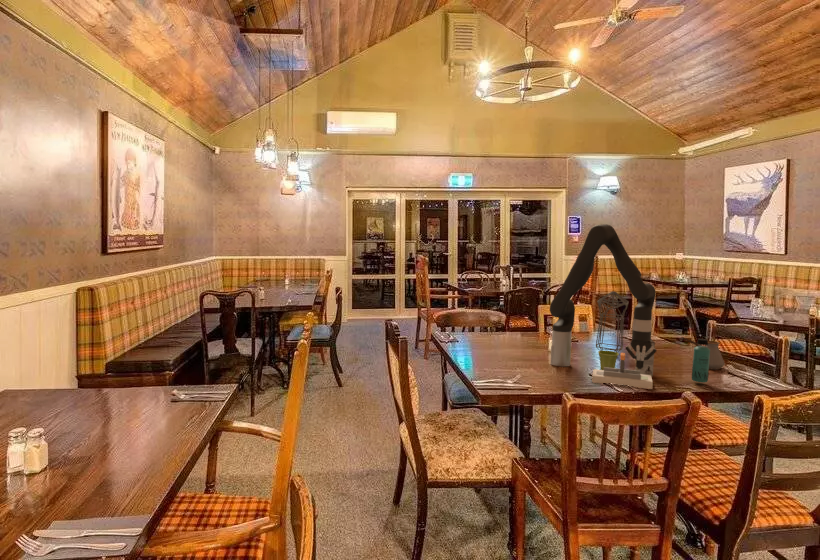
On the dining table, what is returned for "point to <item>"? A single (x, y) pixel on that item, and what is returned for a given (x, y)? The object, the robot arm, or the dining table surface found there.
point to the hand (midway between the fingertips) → (639, 368)
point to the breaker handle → (622, 363)
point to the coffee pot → (712, 354)
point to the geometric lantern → (612, 317)
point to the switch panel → (622, 377)
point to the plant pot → (607, 359)
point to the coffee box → (647, 363)
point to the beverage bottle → (701, 362)
